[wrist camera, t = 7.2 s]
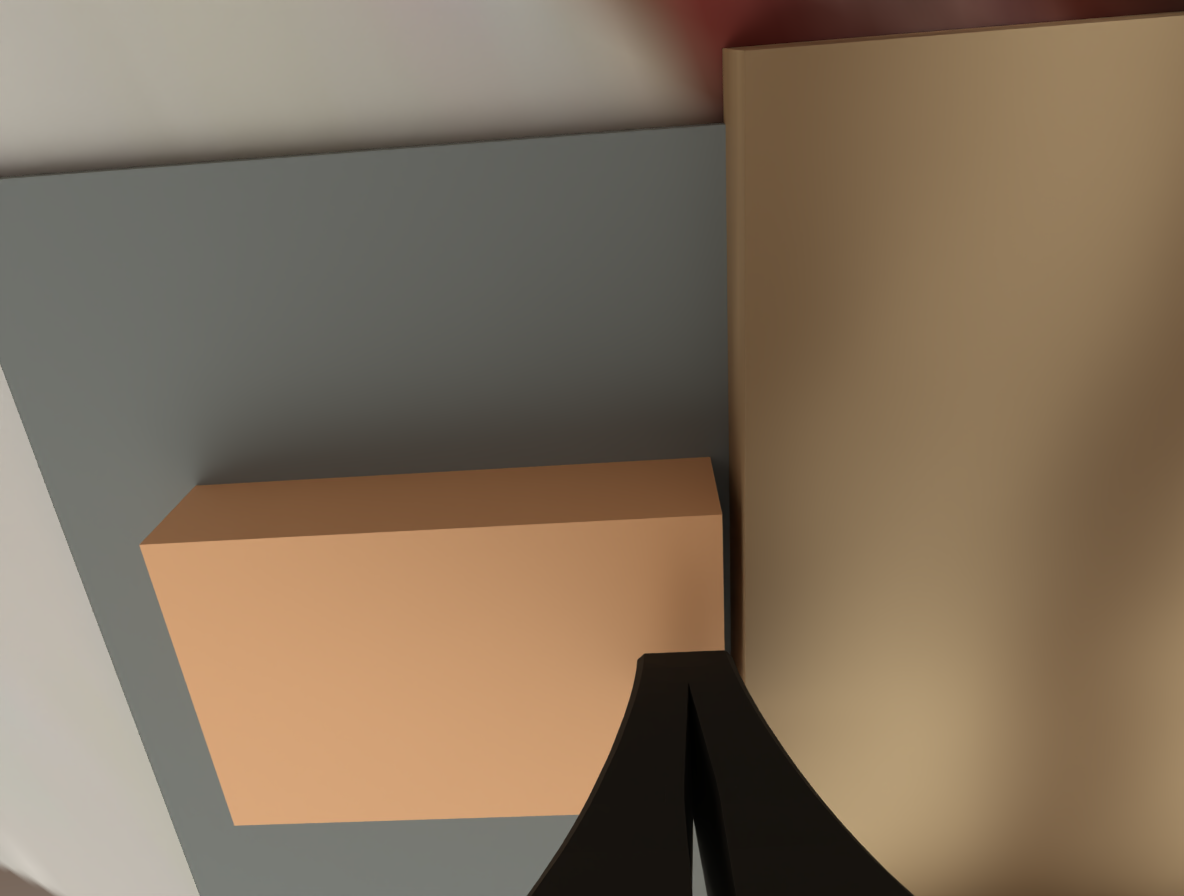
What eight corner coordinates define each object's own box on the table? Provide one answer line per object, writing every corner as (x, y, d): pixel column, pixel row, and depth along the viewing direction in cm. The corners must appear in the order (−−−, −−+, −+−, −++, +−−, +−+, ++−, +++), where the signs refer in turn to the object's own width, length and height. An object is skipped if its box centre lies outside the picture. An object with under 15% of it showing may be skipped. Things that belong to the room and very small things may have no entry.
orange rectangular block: (710, 456, 15) (722, 514, 13) (716, 729, 17) (727, 809, 16) (195, 485, 16) (139, 544, 14) (273, 746, 18) (234, 825, 16)
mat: (723, 122, 13) (725, 124, 13) (732, 913, 20) (733, 924, 20) (-54, 181, 14) (-67, 184, 13) (220, 924, 21) (215, 936, 21)
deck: (1620, -25, 12) (1854, -39, 10) (1239, 1015, 21) (1313, 1133, 19) (722, 48, 13) (744, 51, 10) (733, 1024, 22) (746, 1138, 20)
